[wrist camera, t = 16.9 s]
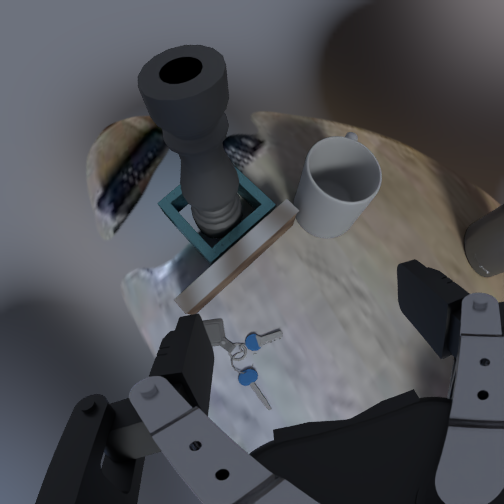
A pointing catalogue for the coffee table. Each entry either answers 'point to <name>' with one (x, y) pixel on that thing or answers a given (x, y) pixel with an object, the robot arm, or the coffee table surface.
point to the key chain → (252, 343)
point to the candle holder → (196, 130)
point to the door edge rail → (237, 259)
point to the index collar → (262, 209)
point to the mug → (336, 185)
